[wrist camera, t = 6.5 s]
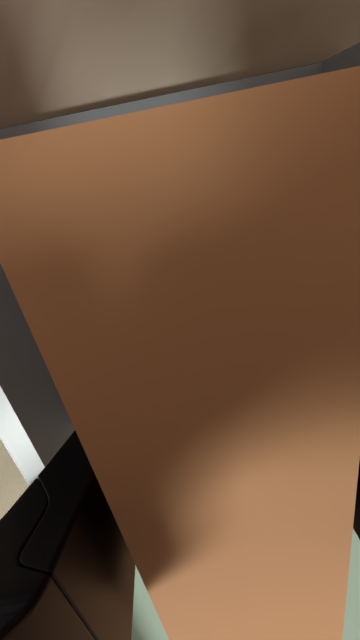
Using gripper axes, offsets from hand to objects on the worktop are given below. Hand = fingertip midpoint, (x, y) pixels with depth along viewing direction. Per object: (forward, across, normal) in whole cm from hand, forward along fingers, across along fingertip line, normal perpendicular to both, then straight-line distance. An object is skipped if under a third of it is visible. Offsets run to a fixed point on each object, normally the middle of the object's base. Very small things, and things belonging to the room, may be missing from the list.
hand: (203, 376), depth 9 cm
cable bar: (+1, 0, 0) cm, 1 cm away
